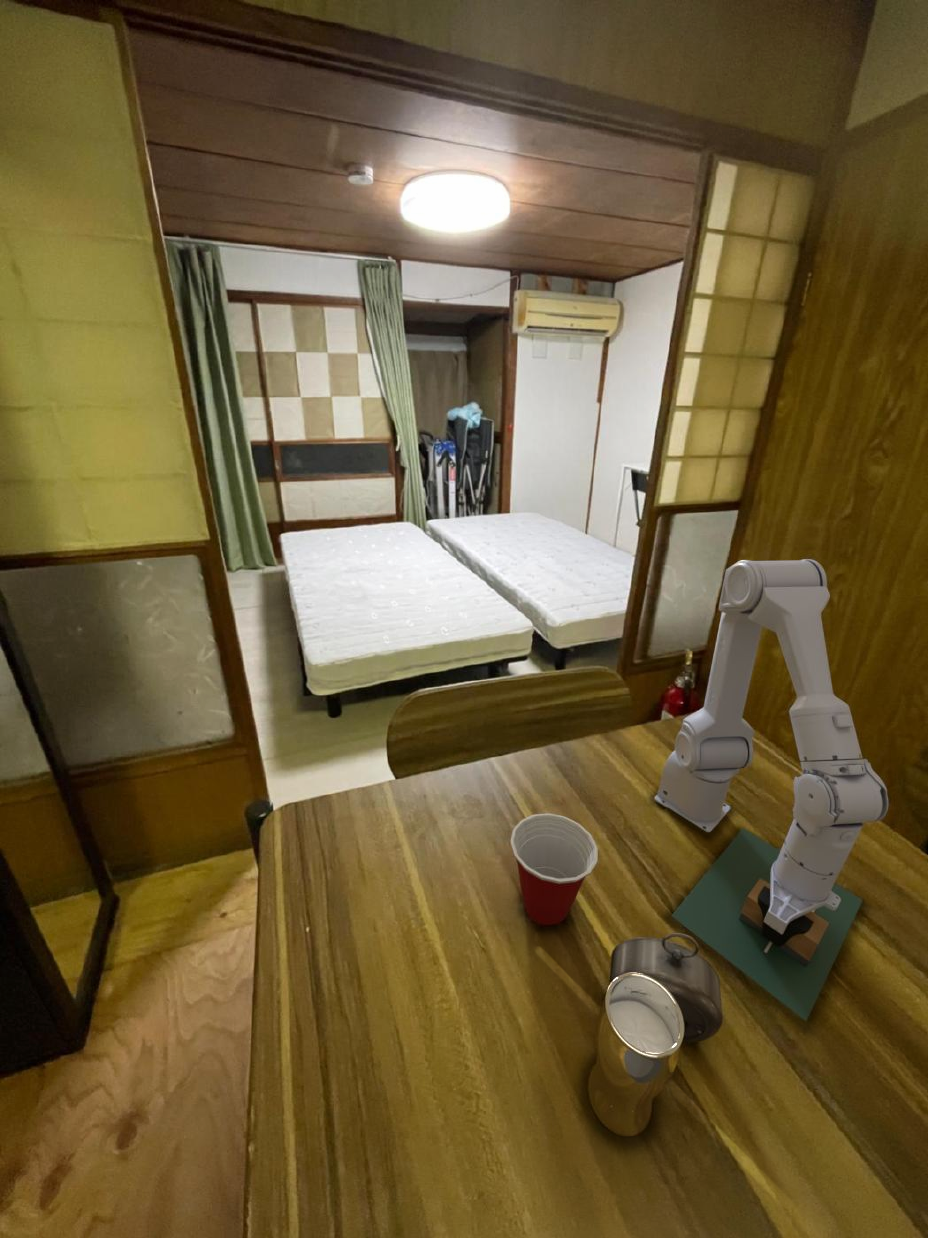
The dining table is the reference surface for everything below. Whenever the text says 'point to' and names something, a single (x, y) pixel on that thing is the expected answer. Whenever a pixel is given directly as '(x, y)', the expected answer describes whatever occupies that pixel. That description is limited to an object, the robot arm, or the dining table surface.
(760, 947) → the chalkboard
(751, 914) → the eraser
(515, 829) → the plastic cup
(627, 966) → the alarm clock
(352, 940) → the dining table surface
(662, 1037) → the beer glass
